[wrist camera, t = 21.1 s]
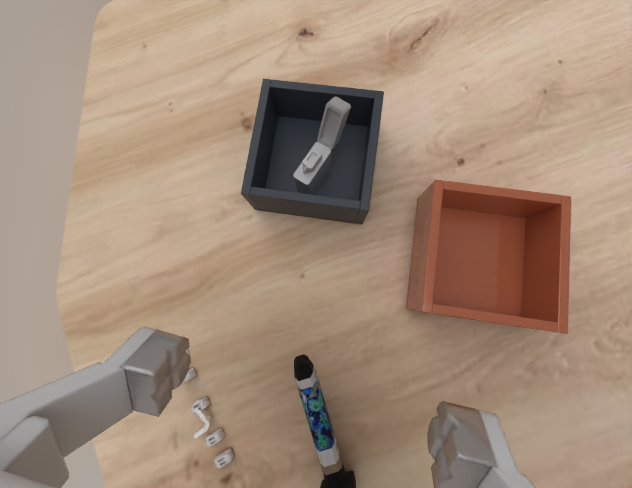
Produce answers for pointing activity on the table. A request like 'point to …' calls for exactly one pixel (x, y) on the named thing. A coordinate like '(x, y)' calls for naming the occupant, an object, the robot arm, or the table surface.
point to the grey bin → (297, 140)
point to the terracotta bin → (492, 255)
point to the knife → (321, 426)
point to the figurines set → (213, 437)
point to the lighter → (322, 147)
